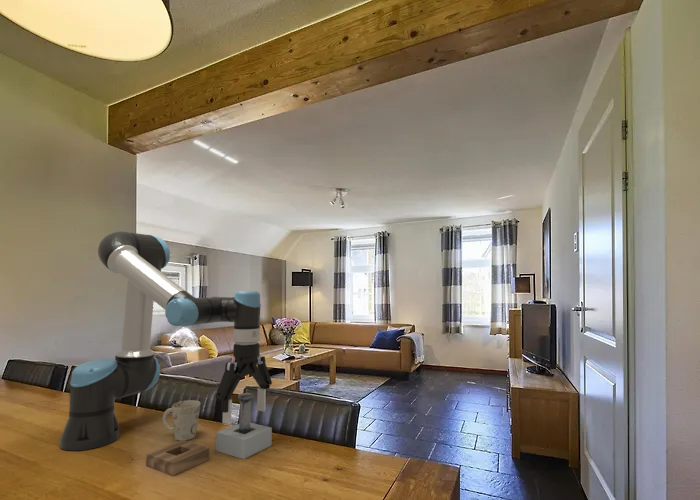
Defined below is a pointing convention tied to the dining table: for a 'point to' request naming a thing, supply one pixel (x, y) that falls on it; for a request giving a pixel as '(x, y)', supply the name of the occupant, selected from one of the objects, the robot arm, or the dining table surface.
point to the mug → (183, 419)
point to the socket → (243, 440)
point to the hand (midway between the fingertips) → (244, 416)
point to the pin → (245, 412)
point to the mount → (177, 457)
